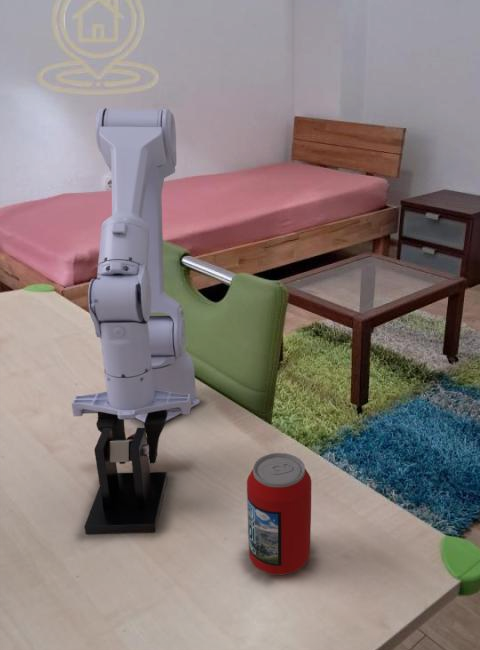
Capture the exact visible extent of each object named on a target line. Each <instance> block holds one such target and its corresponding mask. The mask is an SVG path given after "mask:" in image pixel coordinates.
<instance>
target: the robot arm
mask: <svg viewBox="0 0 480 650" xmlns="http://www.w3.org/2000/svg"><path fill="white" fill-rule="evenodd" d="M98 110H99V111H98V112H97V113H96V115H95V120H94V121H95V122H94V129H95V130H94V131H95V140H96V144H97V148H98V150H99V152H100V153H101V155H102V158H103V160H104V162H105V164H106V165H107V166H108V168H109V170H110V174H111V216H109V217H108V218H106V219H105V220H104V221H102V224H101V228H100V237H99V239H100V240H99V252H98V259H97V261H98V262H97V272H96V273H97V274H96V278H91V279H90V281H89V285H88V292H87V296H88V297H87V301H88V311H89V315H90V318H91V321H92V323H93V325H94V332H95V336H96V338H99V339H100V348H101V355H102V363H103V364H102V365H103V371H104V378H105V387H106V391H101V392H97V393H91V394H83V395H75V396H74V398H73V400H72V401H71V408H72V409H71V410H72V415H73V417H82V416H83V415H84V414H97V421H96V429H97V430H98V431H99V432H100V433H101V432H102V430H103V428H112V435H113V441H114V440H126V439H127V435H126V428H125V420H133V419H136V420H138V421H140V422H142V423H143V426H144V427H143V428H145V429H146V437H147V440H148V445H149V454H148V457H149V464H156V462H157V458H158V449H159V441H160V437H161V434H162V431H163V429H164V427H165V424H166V422H168V421H169V420H172V419H173V418H176V417H177V416H178V415H190V414H191V409H192V408H194V407H196V406H197V405H199V404H200V403H201V400H200V399H199V398H197V390H196V389H197V388H196V374H195V366H194V362H193V359H192V356H191V355H190V354H189V353H188V351H187V350H186V345H187V329H186V322H185V315H184V308H183V306H182V304H181V303H179V302H178V301H177V300H176V299H175V298H173V297H172V296H170V295H168V294H167V293H166V292H165V276H164V274H165V273H164V272H165V271H164V239H163V235H164V234H163V209H162V208H163V206H162V203H163V200H162V199H163V198H162V196H163V195H162V194H163V187H164V182H165V179H166V178H168V177H169V176H172V175H173V174H175V173H176V166H177V131H176V130H177V129H176V121H175V117H174V114H173V112H172V111H171V110H170V109H169V108H163V109H115V108H113V109H110V108H106V107H101V108H100V109H98ZM151 314H165V315H151ZM118 463H119V464H120V465H125V464H126V462H118Z"/></svg>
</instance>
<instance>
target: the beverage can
mask: <svg viewBox="0 0 480 650" xmlns="http://www.w3.org/2000/svg"><path fill="white" fill-rule="evenodd" d="M246 504H247V505H246V506H247V507H246V508H247V536H248V555H249V559H250V561H251V563H252V564H253V565H254V566H255V567H256V568H257V569H259V570H260V571H262V572H263V573H267V574H270V575H279V576H280V575H288V574H292V573H294V572H296V571H298V570H300V569H301V568H303V567H304V566H305V565H306V564H307V562H308V560H309V558H310V554H311V528H312V478H311V475H310V473H309V472H308V470H307V469H306V467H305V463H304V462H303V460H301V459H300V458H299V457H297V456H296V455H293V454H290V453H285V452H275V453H269V454H266V455H264V456H261V457H260V458H258V459H257V460H256V461H255V462H254V464H253V467H252V470H251V471H250V473H249V474H248V476H247V480H246Z"/></svg>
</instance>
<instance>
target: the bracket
mask: <svg viewBox="0 0 480 650" xmlns="http://www.w3.org/2000/svg"><path fill="white" fill-rule="evenodd" d="M134 434H135V436H134V439H133V442H132V445H131V448H130V452H131V460H132V461H131V468H132V472H118V466H117V462H110V441H113V435H112V428H103V430H102V432H100V435H99V437H98V440H97V442H96V444H95V446H94V457H95V463H96V470H97V477H98V478H97V479H98V485H99V487H98V489H97V492H96V495H95V497H94V500H93V503H92V505H91V507H90V510H89V513H88V516H87V519H86V520H85V524H84V532H85V535H102V534H104V535H105V534H106V535H107V534H141V533H156V531H157V527H158V522H159V518H160V515H161V514H160V513H161V509H162V505H163V502H164V501H163V500H164V496H165V492H166V487H167V484H168V483H167V482H168V471H151V468H150V462H149V445H148V444H147V439H146V437H147V435H146V429H145V427H137V428H136V430H135V433H134Z"/></svg>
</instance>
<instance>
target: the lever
mask: <svg viewBox="0 0 480 650" xmlns="http://www.w3.org/2000/svg"><path fill="white" fill-rule="evenodd" d="M134 436H135V433H132V434H130V435H128V437H126V440H114V441H110V462H116V463H119V462H125V463H129V462H132V460H131V452H130V448H131V445H132V442H133V439H134ZM146 439H147V436H146ZM147 444H148V440H147Z"/></svg>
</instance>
